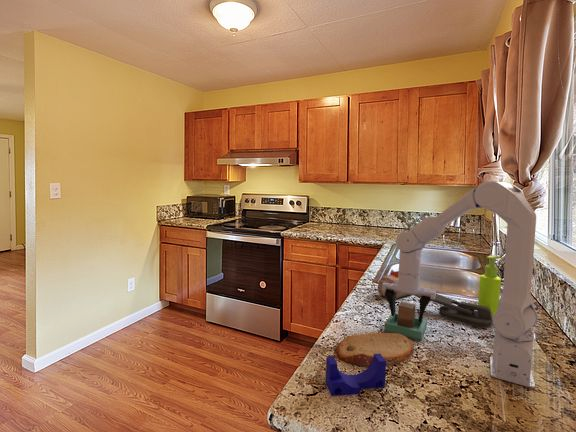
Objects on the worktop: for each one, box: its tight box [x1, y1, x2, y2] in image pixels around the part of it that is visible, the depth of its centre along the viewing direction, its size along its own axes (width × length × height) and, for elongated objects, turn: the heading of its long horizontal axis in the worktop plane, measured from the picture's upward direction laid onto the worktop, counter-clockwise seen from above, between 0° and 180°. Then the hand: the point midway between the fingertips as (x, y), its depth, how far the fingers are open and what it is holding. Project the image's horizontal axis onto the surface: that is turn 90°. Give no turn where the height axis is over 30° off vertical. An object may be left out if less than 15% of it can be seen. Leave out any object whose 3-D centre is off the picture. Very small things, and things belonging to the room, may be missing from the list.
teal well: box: [383, 312, 428, 342], centre depth 95 cm, size 10×10×2 cm
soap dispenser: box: [477, 254, 504, 319], centre depth 106 cm, size 6×7×20 cm
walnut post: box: [397, 301, 417, 329], centre depth 94 cm, size 4×4×7 cm
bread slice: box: [335, 332, 415, 368], centre depth 82 cm, size 18×18×4 cm
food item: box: [377, 269, 411, 300], centre depth 124 cm, size 14×8×10 cm, turn 125°
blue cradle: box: [325, 354, 387, 397], centre depth 67 cm, size 12×4×6 cm, turn 98°
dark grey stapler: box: [413, 293, 493, 329], centre depth 106 cm, size 9×7×25 cm
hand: (406, 317), depth 94 cm, fingers open, 7 cm apart
